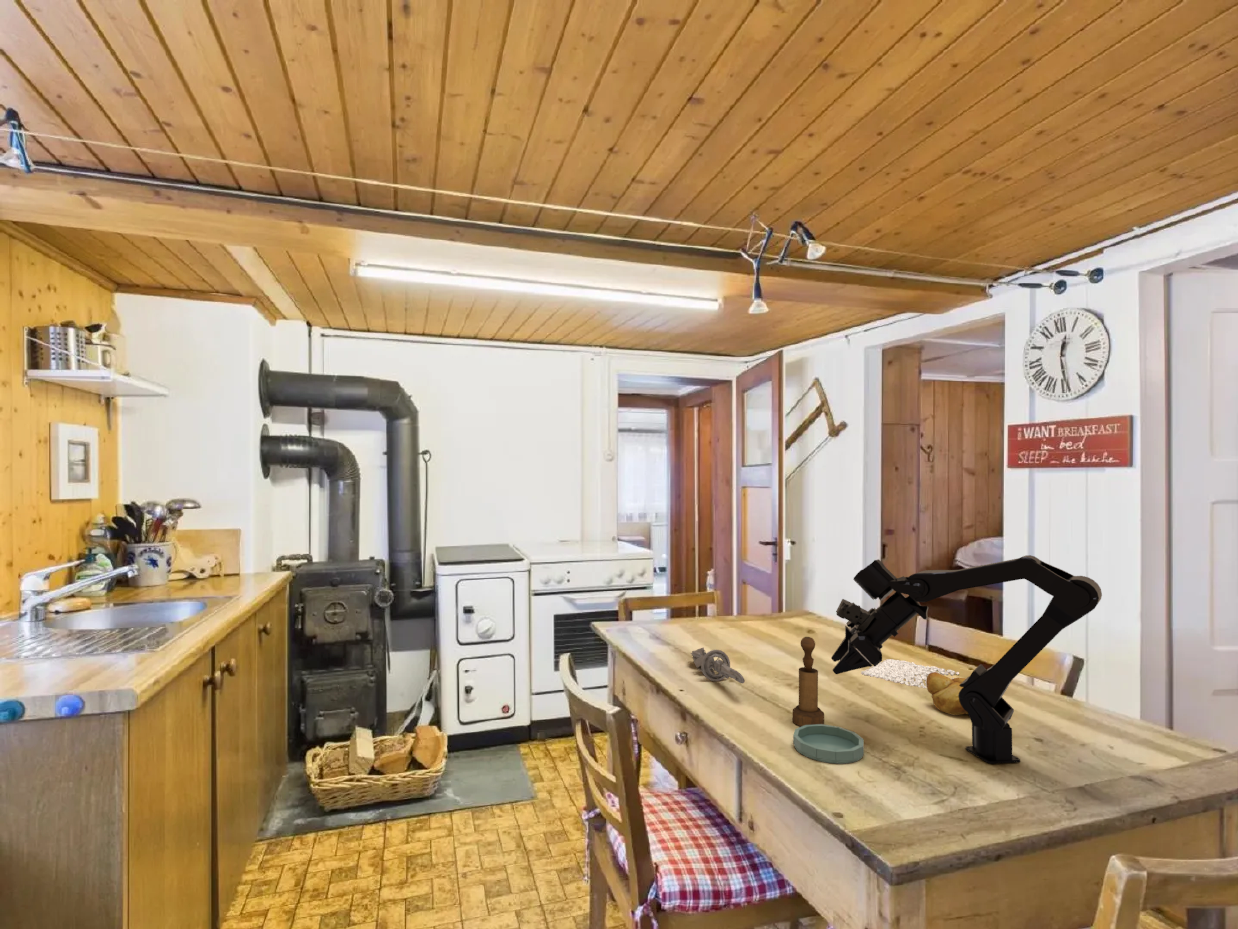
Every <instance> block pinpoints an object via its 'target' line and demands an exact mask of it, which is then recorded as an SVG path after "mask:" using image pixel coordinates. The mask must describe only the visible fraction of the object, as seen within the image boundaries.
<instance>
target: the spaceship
mask: <svg viewBox="0 0 1238 929" xmlns="http://www.w3.org/2000/svg"><path fill="white" fill-rule="evenodd" d="M690 654H691V657H692V659H693V663H694V665H695V667H696V668H697V669H696V671H698V672H700V673H701V672H702V674H703V675H704V677H705V678H706V679H707V680H710V681H711V682H720V681H722V680H724V679H727V680H728V679H730V678H731V679H732V680H733V679H734V680H735V681H736V682H738V684H744V683H745V681H746V679H745V678H744V676H743V674H742V673H741V672H739V671H737V670H736V669H734V668H732V667H731V661H730V658H729V656H728V655H727V653H725V651H723V650H722V649H721V650H720V649H712V650H709V651H707V652H706V650H705V647H701V648H698V649H696V650H692V651H691V652H690ZM715 658H716V660H715ZM700 667H701V668H700ZM715 672H716V673H717V674H716V673H715Z"/></svg>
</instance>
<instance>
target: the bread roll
mask: <svg viewBox="0 0 1238 929" xmlns="http://www.w3.org/2000/svg"><path fill="white" fill-rule="evenodd" d="M937 672H938V671H937ZM937 672H932V673H930V674H928V676H926V677H927V680H925V681H926V683H925V685H926V684H927V686H926V687H927V688H926V689H927V692H928V693H929V694H931V698H932V703H933V705H934V707H935V708H937V709H938V711H940V712H943V713H945V714H947V715H953V716H959V715H968V712H967V711H965V710H964V708H963V707H962V706H961V704H960V702H959V697H958V695H959V692H960V690H961V689H962V688H963V687H960V686H959V685H960V684H961V683H962V682H963V681H964V680H965V679H966V678H965V677H953V678H954V679H952V678H949V677H948V676H947V675H945V674H944V675H942V674H941V673H939V672H938V673H937Z"/></svg>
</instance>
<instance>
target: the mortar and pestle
mask: <svg viewBox="0 0 1238 929" xmlns="http://www.w3.org/2000/svg"><path fill="white" fill-rule="evenodd" d="M800 647H801V649H802V651H803V652H804V655H803V657H802V663H803V666H802V667H799V668H798V705H796V706H795V707H794V708H792V717H791V718H792V723H794V724H795V725H797V726H798V727H799V726H800V727H802V726H804V725H814V724H824V725H825V713H824V711H823V710H822V709H821V708H820V707H819V700H818V699H819V698H818V695H819V694H818V693H819V670H818V669H817V668H813V665H814V660H815V659H814V658H813V656H812V654H813V652H814V650H815V647H816V642H815V639H814V638H813V637H811V636H804V637H803V638H801V639H800Z"/></svg>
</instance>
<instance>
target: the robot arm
mask: <svg viewBox="0 0 1238 929" xmlns="http://www.w3.org/2000/svg"><path fill="white" fill-rule="evenodd" d="M1019 580H1026V581H1028V582H1029V583H1031V584H1033V585H1034V586H1036V587H1037V588H1039V589H1040V590H1042V591H1043V592H1045V593H1046V594H1048V595H1051V596H1052V598H1051V599H1050V601H1049V603H1048V604H1047V606H1046V609H1045V610H1044V612H1043V613H1042V615H1041V616H1040V617H1038V619H1037V620H1036V621H1035V622H1034V623H1033V625H1031V626H1030V628H1029V629H1027V631H1025V633H1024V634H1023V635H1022V636H1021V637H1020V638H1019V639H1018V640H1017V641H1016V642H1015V643H1014V644H1012V646H1011V647H1010V648H1009V649H1008V650H1007V651H1006V653H1004V655H1002V657H1001V658H1000V659H998V660H997V661H996V663H995V664H993V665H992V666H991V667H989V668H987V669H986V667H985V666H984V665H983V664H979V665H978V666H977V667H975V668H974V670H972V673H970V675H969V676H967V677H966V678H965V680H964V681H963V682H962V683H961V684H960V685H959V686H960V687H963V688H962V689H961V690H960V692H959V695H958V697H959V702H960V704H961V706H962V707H963V708H964V710H965V711H967V712H968V714H967V715H968V716H969V720H970V723H971V743H972V744H971V746H965V750H966V751H968V752H969V753H971V754H972V755H973V756H976V757H977V758H979V759H980V760H983V762H985V763H986V764H990V765H994V764H995V765H996V764H1007V763H1020V762H1021V758H1019V757H1017V756H1016V755H1014V754H1013V728H1012V727H1011V726H1010V723H1008V722H1009V721H1010V720H1011V719H1012V716H1013V714H1014V712H1015V710H1014V708H1013V707H1012V706H1011V704H1009V703H1008V702H1007V701H1006V699H1005V698H1003V696H1004V695H1005V693H1006V692H1007V690H1008V688H1009V686H1010V684H1011V683H1012V681H1013V680H1014V679H1015V678H1016V677H1017V676H1018V675H1019V674H1020V673H1021V672H1022V671H1023V669H1025V667H1027V666H1028V665H1029V664H1030V662H1032V660H1034V658H1036V657H1037V656H1038V654H1040V652H1041V651H1042V650H1043V649H1044V648H1046V646H1048V644H1049V643H1050V642H1052V640H1053V639H1055V637H1056V636H1057V635H1059V633H1060V632H1062V630H1064V629H1066V628H1067V627H1068V626H1070V625H1072V624H1073V623H1075V622H1077V621H1079V620H1080V619H1082V618H1083V617H1085V616H1086V615H1087V614H1089V613H1091V612H1092V611H1094V610H1095V608H1096V607H1097V605H1098V604H1099V602H1101V600H1102V596H1103V594H1102V589H1101V587H1100V585H1099V584H1098V582H1096V581H1095V580H1094V579H1092V578H1090V577H1088V576H1083V575H1074V574H1071V573H1069V572H1068V571H1065V570H1063V569H1061V568H1059V567H1056V566H1054V565H1052V564H1049V563H1047V562H1044V561H1042V560H1041V559H1040V558H1038V557H1036V556H1034V555H1030V554H1029V555H1023V556H1021V557H1019V558H1014V559H1008V560H1002V561H997V562H993V563H992V562H991V563H987V564H983V565H977V566H972V567H971V566H970V567H967V568H962V569H952V570H951V569H949V570H948V569H931V570H930V569H929V570H928V569H927V570H922V571H919V572H916V573H913V574H910V575H909V576H904V575H903V576H900V577H898V578H897V576H895V575H894V573H892V571H890V570H889V569H888V568H887V566H885V564H884V563H883V561H882V560H880V559H879V558H878V559H874V560H873V561H872V562H871V563H870V564H868V565H867V566H866V567H864V568H862V569H861V570H859V571H858V572H857V573H856V574H855V576H854V577H853V581H854V582H855V583H856V584H857V585H858V586H859V587H860V588H861V589H862V590H863V591H864V592H865V593H866V594H867V595H868V596H869V597H870V598H871V599H872V600H873V601H874V600H876V601H877V599H878V600H880V601H883V602H882V604H880V605H879V606H878V607H877V608H875V607H874V608H873V607H872V608H870V609H869V610H868V611H867V610H866V609H864V608H862V607H861V605H857V604H856V603H855V602H851V601H848V600H847V599H844V598H842V599H841V601H840V603H839V605H838V607H837V608H836V611H835V613H836V616H838V617H839V618H841V619H845V620H847V622H845V623H846V625H845V626H844V629H845V632H844V634H845V635H844V638H843V639H842V641H841V642H840V644H839V645H838V646H837V649H836V650H835V651H834V653H833V654H832V656H831V660H832V661H833V662H834V663H835V662H837V663H836V665H834V667H833V668H832V672H833V673H834V674H835V675H839V674H844V673H847V672H850V671H855V670H859V669H863V668H872V666H876V665H878V664H880V662H883V652H882V650H881V649H883V647H884V646H883V645H884V643H885V642H887V640H889V639H890V638H891V637H892V636H893V637H894V638H895V637H896V636H898V635H899V632H898V631H899V630H901V628H903V627H904V626H905V625H906V624H907V623H909V622H910V621H911V620H912V619H913V618H914V617H916V616H917V615H919V616H920V618H922V620H925V621H927V620H928V617H929V616H928V610H929V606H928V605H921V603H927V602H930V601H933V600H936V599H939V598H942V597H943V596H946V595H949V594H953V593H955V592H957V591H960V590H967V589H972V588H978V587H979V588H980V587H984V586H989V585H994V584H995V585H997V584H1001V583H1007V582H1012V581H1019ZM892 592H894V593H893V594H892V595H890V594H891V593H892ZM904 594H905V595H908V596H905V595H904ZM888 596H889V597H888ZM887 597H888V598H887ZM886 598H887V599H886ZM884 600H885V601H884Z"/></svg>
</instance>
